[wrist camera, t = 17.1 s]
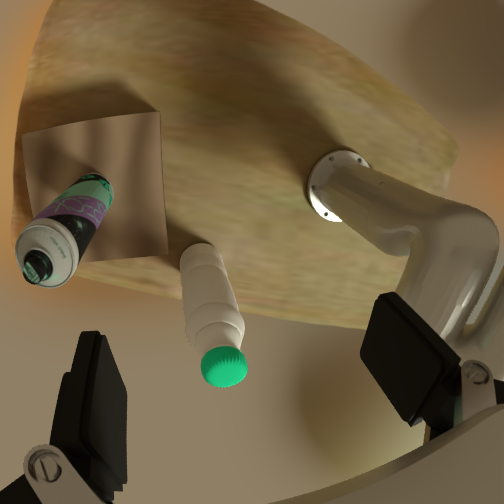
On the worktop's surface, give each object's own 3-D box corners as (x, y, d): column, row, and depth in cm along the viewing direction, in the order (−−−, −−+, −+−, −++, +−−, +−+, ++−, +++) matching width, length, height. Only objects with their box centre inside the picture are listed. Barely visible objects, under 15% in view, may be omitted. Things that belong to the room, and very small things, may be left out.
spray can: (106, 220, 36) (61, 317, 19) (69, 206, 34) (-1, 292, 17) (120, 180, 34) (72, 253, 17) (81, 166, 32) (4, 226, 15)
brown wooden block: (162, 111, 39) (159, 111, 32) (169, 231, 47) (168, 254, 40) (44, 129, 35) (21, 134, 28) (61, 242, 43) (45, 266, 36)
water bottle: (171, 266, 50) (178, 385, 28) (195, 233, 48) (218, 341, 27) (205, 285, 53) (232, 402, 32) (229, 255, 52) (274, 365, 30)
